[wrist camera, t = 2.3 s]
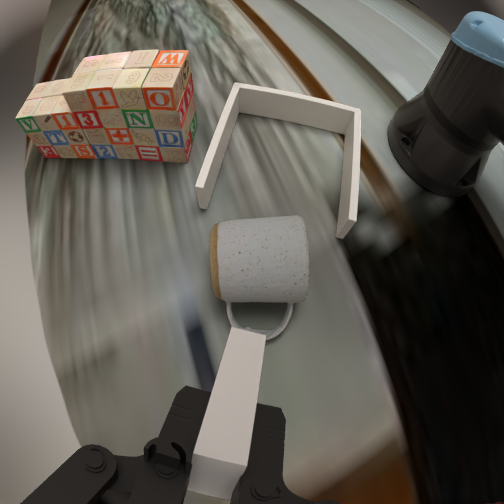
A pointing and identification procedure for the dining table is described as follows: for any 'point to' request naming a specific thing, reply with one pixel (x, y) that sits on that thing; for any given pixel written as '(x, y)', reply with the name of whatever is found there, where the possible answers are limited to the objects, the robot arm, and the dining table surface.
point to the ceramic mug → (260, 264)
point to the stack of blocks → (116, 109)
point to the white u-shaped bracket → (294, 111)
